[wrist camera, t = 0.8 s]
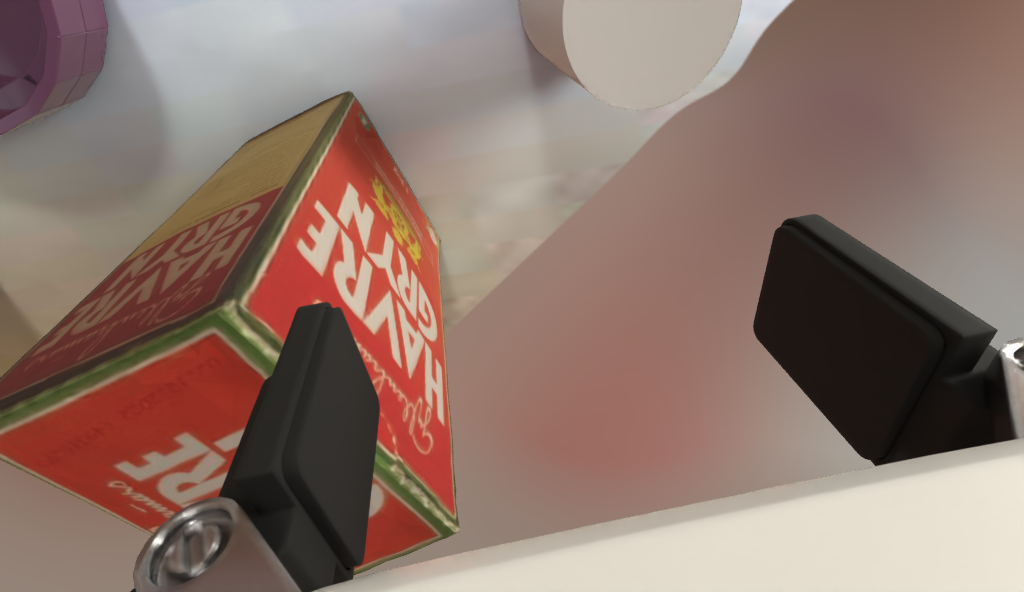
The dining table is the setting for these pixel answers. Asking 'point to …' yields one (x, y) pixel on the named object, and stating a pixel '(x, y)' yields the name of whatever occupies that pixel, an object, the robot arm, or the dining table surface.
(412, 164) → the dining table surface
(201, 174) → the dining table surface
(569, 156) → the dining table surface
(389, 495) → the food packaging
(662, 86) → the white cylinder
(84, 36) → the bowl
